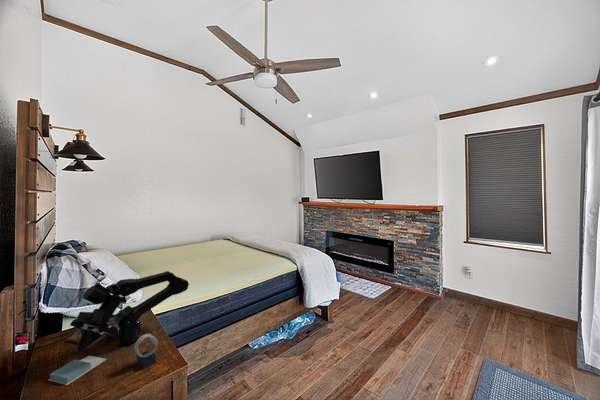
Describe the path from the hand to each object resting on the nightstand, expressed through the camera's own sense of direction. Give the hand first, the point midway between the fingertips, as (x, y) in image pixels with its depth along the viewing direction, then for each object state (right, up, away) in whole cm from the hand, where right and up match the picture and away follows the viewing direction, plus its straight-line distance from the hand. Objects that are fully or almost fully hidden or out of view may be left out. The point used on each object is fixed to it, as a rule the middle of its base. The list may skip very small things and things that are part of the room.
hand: (78, 351), depth 97 cm
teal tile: (0, -5, +1) cm, 6 cm away
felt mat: (0, -7, 0) cm, 7 cm away
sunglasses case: (-12, -7, +19) cm, 24 cm away
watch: (+23, -7, +4) cm, 24 cm away
